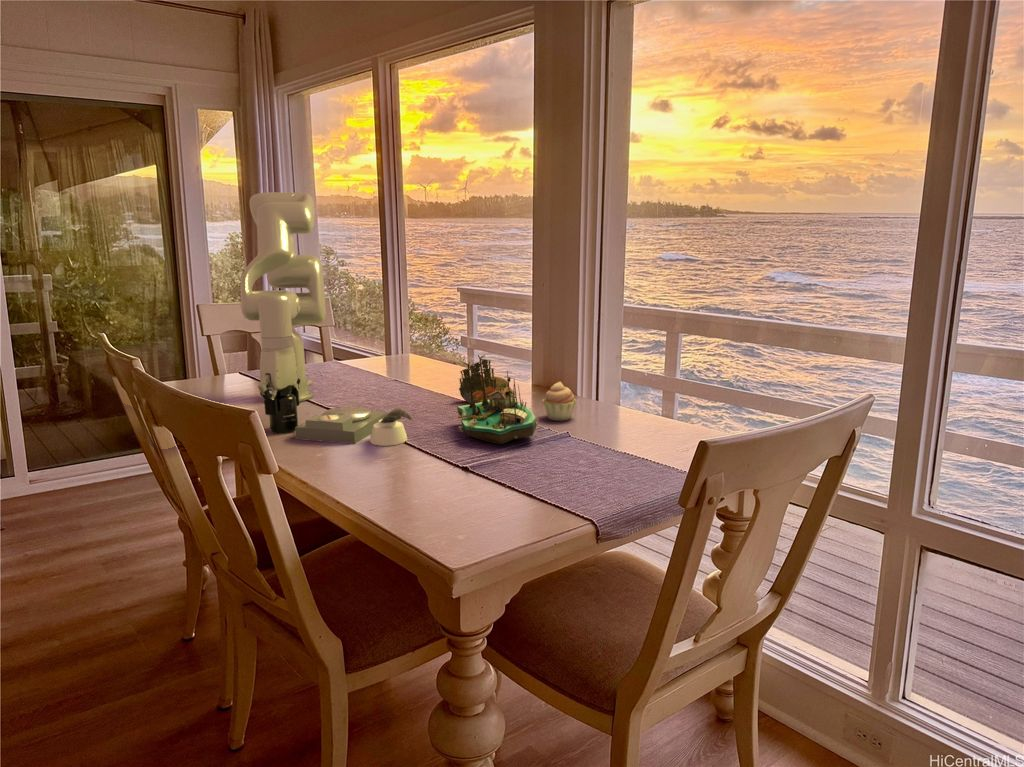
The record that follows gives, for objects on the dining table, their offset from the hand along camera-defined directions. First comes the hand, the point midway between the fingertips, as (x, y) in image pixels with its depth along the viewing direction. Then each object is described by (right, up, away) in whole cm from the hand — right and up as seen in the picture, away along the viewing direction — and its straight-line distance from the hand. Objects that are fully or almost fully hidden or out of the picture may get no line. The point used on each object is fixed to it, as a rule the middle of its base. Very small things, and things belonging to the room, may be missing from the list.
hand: (282, 409), depth 183 cm
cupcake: (+71, -3, +11) cm, 72 cm away
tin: (+51, +1, +26) cm, 57 cm away
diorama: (+54, -6, -3) cm, 54 cm away
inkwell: (+31, -8, -11) cm, 34 cm away
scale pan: (+16, -2, +2) cm, 16 cm away
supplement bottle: (0, -5, +2) cm, 6 cm away
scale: (+15, -5, +1) cm, 16 cm away
